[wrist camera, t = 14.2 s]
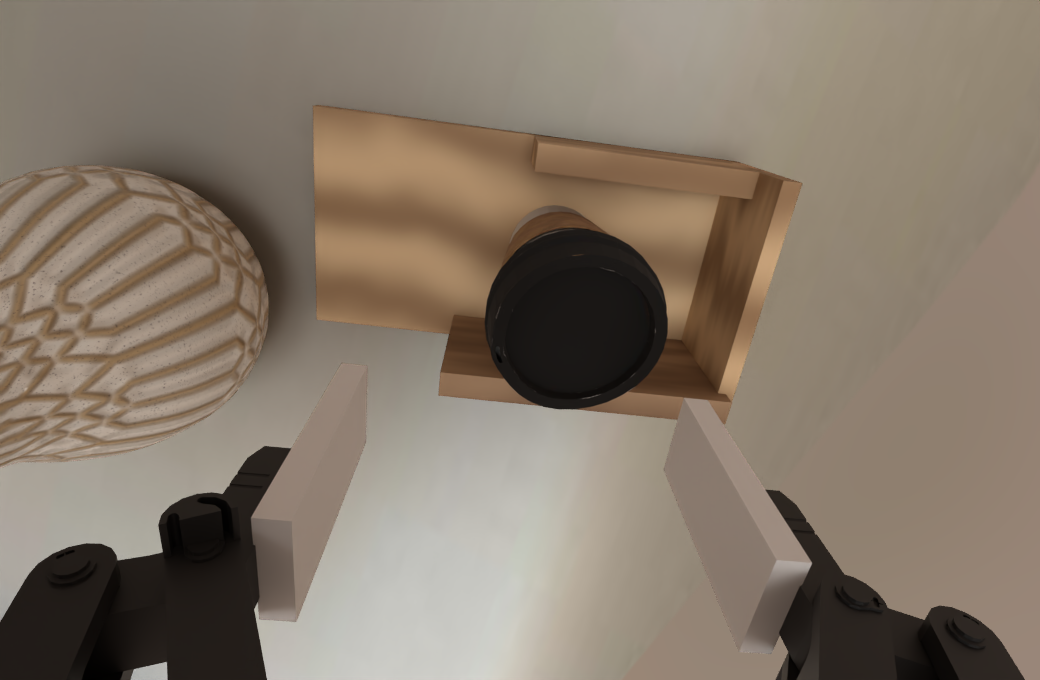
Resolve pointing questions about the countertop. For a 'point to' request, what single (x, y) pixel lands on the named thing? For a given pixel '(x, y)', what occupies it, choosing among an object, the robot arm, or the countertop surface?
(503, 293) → the coffee cup
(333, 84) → the countertop surface
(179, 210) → the vase
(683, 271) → the shelf
